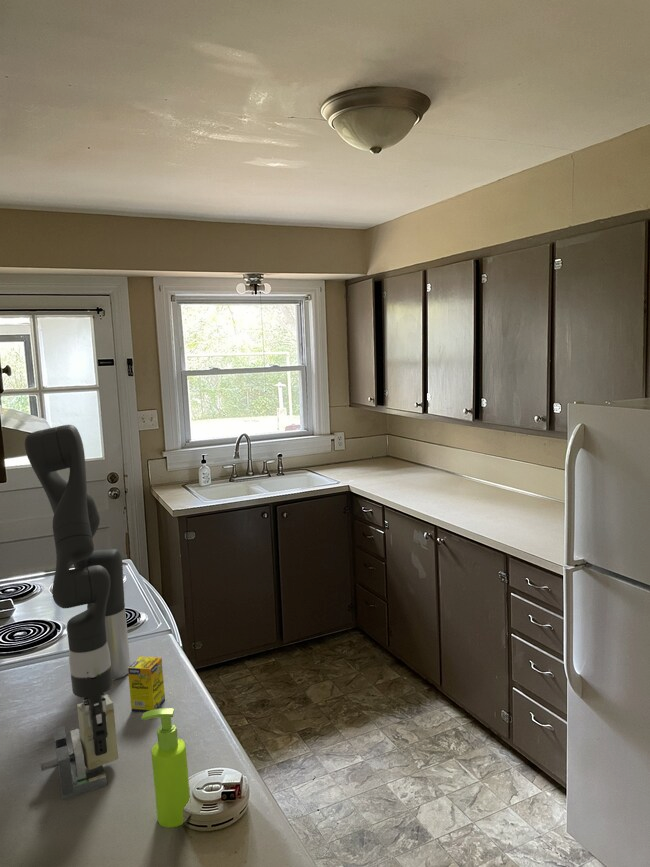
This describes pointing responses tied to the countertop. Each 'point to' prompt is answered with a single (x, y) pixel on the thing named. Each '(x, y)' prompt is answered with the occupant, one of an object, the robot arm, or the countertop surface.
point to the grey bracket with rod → (68, 772)
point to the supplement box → (146, 684)
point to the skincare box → (88, 741)
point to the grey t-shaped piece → (72, 757)
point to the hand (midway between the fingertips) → (99, 746)
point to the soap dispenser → (169, 770)
